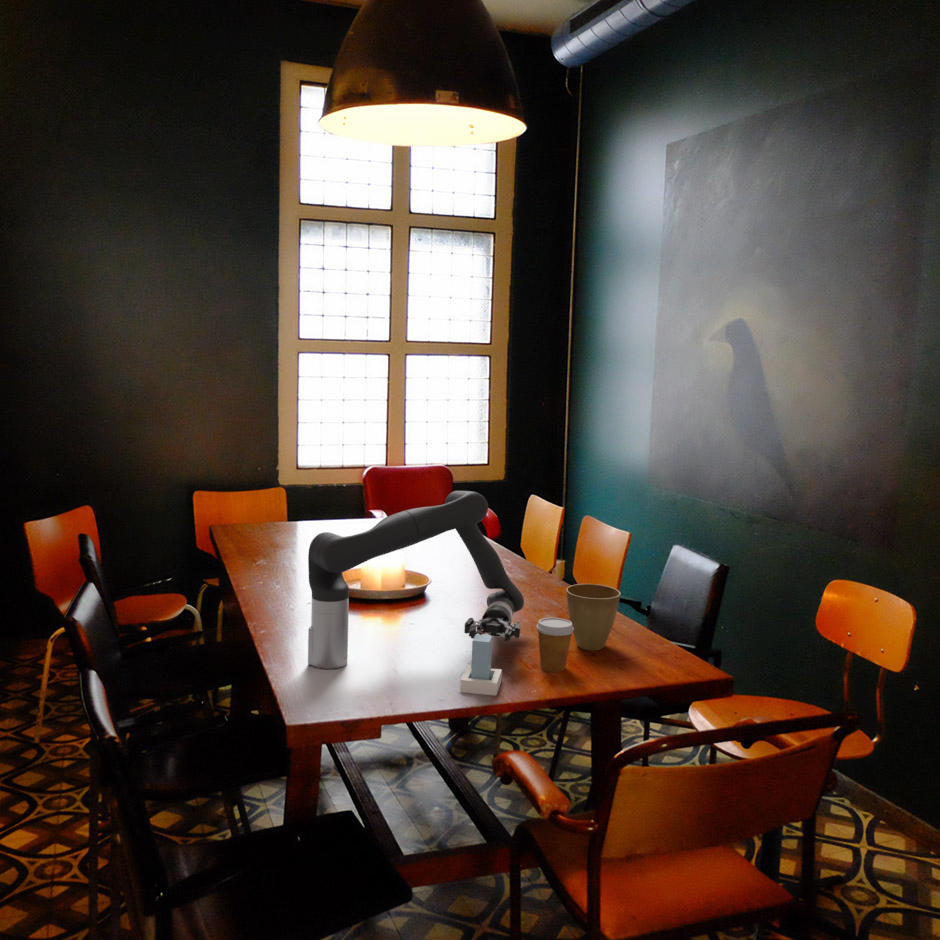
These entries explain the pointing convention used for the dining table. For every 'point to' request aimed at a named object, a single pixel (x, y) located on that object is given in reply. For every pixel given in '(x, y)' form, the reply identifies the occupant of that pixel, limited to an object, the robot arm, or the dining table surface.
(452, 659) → the dining table surface
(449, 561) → the dining table surface
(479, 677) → the blue-grey rectangular block
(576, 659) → the dining table surface
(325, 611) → the robot arm
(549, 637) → the disposable coffee cup
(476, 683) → the end cap
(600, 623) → the plant pot
